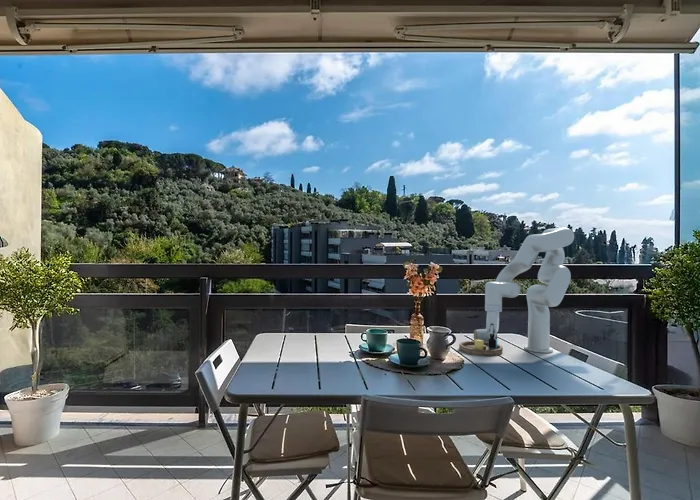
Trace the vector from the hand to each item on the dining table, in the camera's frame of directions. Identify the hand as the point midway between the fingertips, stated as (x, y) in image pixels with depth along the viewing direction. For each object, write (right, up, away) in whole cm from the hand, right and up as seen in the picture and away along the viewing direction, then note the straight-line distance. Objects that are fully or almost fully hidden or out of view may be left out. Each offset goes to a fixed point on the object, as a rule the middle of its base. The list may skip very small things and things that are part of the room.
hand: (492, 345), depth 195 cm
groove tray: (-5, -3, +2) cm, 6 cm away
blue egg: (0, -2, 0) cm, 2 cm away
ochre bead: (-7, -2, -3) cm, 8 cm away
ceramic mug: (+1, -3, +16) cm, 17 cm away
